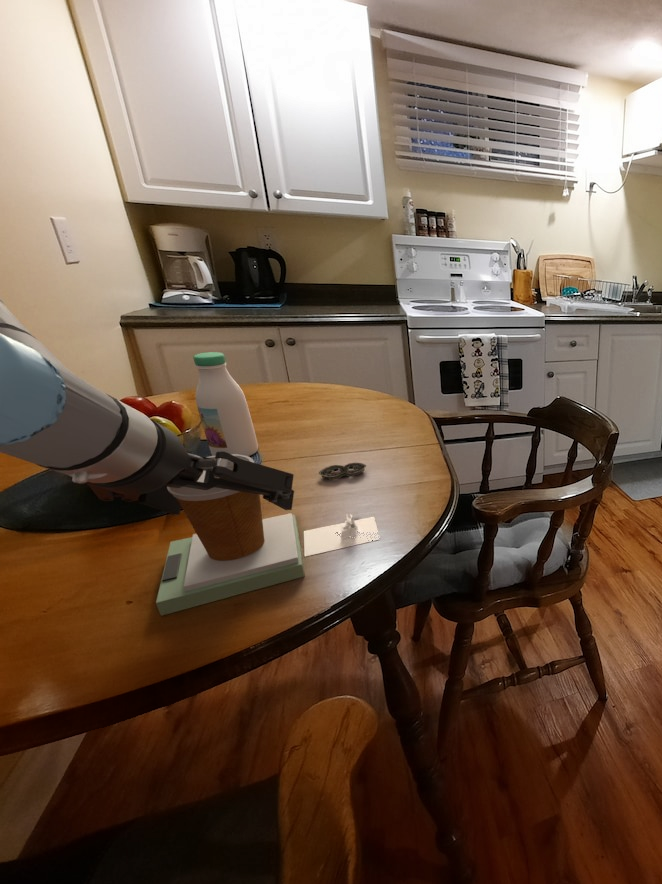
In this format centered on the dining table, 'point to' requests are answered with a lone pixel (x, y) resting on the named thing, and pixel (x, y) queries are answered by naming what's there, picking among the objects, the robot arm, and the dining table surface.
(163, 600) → the kitchen scale
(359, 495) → the dining table surface
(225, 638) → the dining table surface
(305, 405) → the dining table surface
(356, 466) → the corroded twin loop
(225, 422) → the milk bottle
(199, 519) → the disposable coffee cup
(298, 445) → the dining table surface
